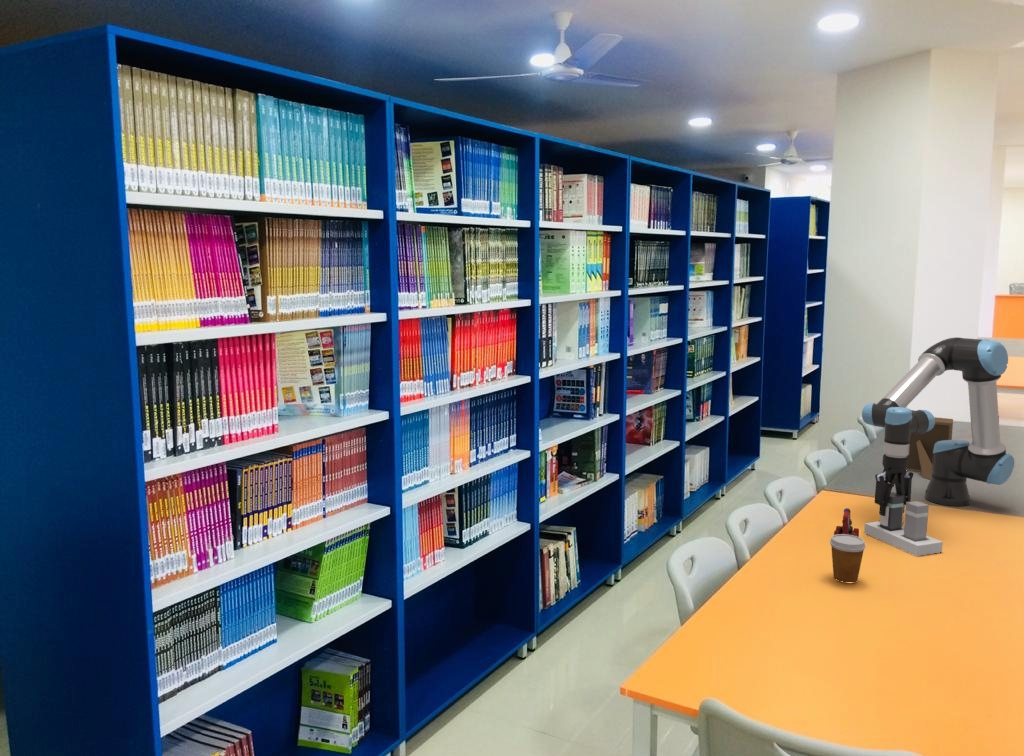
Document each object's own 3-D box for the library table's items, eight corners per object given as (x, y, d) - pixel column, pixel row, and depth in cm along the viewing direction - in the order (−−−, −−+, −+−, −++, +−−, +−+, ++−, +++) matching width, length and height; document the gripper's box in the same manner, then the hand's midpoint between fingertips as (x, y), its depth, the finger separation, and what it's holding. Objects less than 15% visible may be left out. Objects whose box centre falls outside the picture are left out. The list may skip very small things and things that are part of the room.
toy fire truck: (859, 537, 259) (861, 506, 258) (855, 549, 249) (857, 517, 247) (836, 533, 263) (838, 503, 261) (832, 545, 252) (834, 514, 250)
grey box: (890, 532, 261) (893, 492, 259) (901, 537, 257) (904, 496, 255) (879, 534, 260) (882, 493, 258) (889, 538, 256) (892, 497, 254)
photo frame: (893, 466, 346) (897, 411, 342) (949, 473, 334) (954, 416, 330) (888, 475, 333) (892, 417, 329) (946, 482, 322) (951, 423, 318)
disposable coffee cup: (847, 588, 219) (850, 547, 217) (820, 576, 227) (822, 536, 226) (870, 582, 223) (873, 541, 222) (843, 570, 232) (845, 531, 230)
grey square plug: (914, 542, 252) (917, 500, 250) (925, 547, 248) (929, 505, 246) (902, 544, 251) (905, 502, 249) (914, 549, 246) (917, 506, 244)
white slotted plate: (888, 529, 266) (888, 520, 265) (941, 552, 245) (942, 542, 245) (864, 533, 263) (865, 523, 262) (916, 556, 242) (917, 545, 242)
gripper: (908, 450, 261) (904, 517, 264) (864, 454, 255) (860, 523, 259) (927, 455, 254) (921, 524, 257) (882, 460, 248) (877, 530, 252)
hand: (890, 523), depth 258 cm, fingers open, 5 cm apart
